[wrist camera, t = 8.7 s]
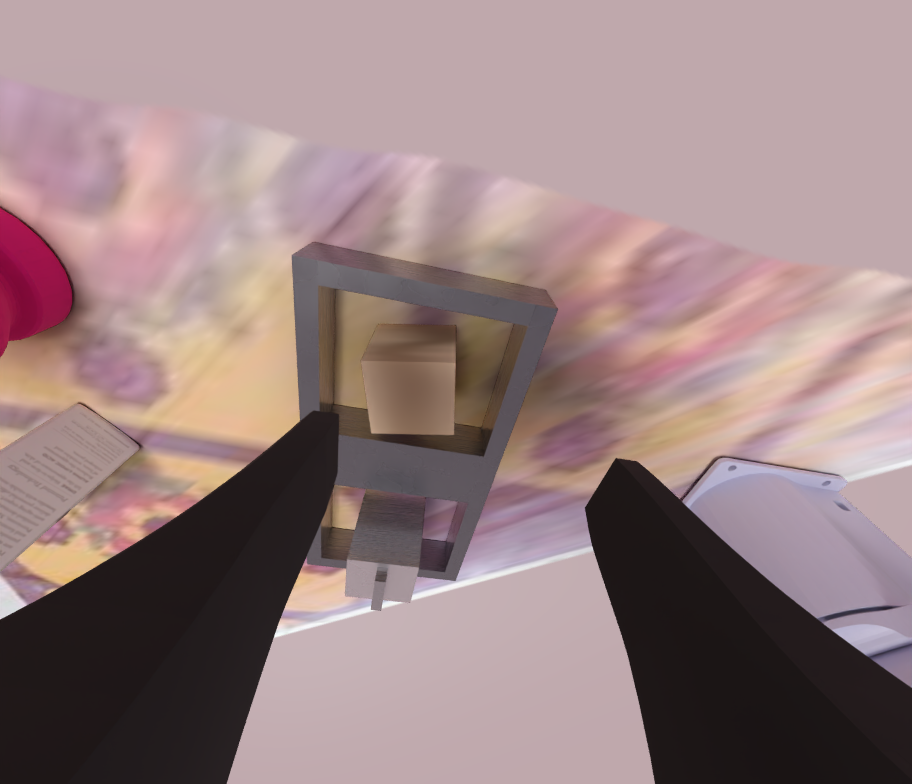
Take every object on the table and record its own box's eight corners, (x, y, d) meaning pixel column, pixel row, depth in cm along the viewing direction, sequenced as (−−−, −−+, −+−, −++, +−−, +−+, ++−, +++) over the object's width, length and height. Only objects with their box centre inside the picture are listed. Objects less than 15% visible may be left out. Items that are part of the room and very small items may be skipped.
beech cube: (456, 324, 18) (455, 362, 15) (454, 389, 21) (453, 435, 17) (378, 323, 18) (360, 360, 15) (385, 388, 21) (371, 433, 17)
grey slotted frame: (545, 290, 17) (558, 309, 15) (455, 550, 29) (455, 580, 27) (313, 241, 16) (291, 255, 14) (318, 533, 28) (307, 564, 26)
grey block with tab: (426, 485, 25) (417, 581, 19) (418, 520, 27) (408, 616, 22) (369, 477, 25) (343, 573, 19) (366, 513, 27) (341, 609, 21)
